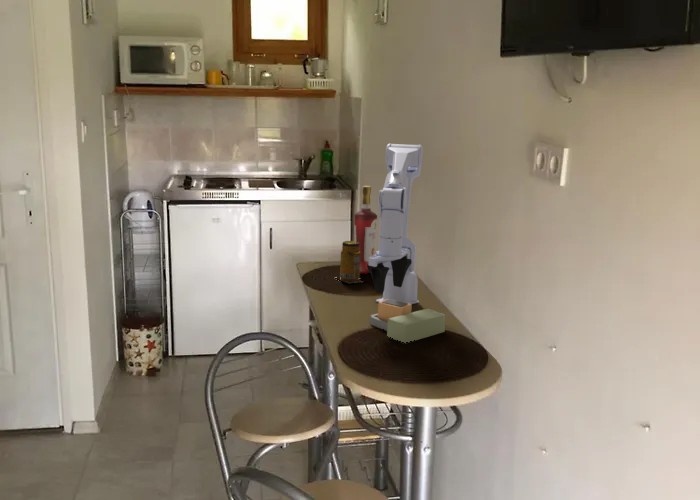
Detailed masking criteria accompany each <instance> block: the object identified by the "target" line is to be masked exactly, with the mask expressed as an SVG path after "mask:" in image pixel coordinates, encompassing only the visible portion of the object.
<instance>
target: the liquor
mask: <svg viewBox="0 0 700 500" xmlns="http://www.w3.org/2000/svg"><path fill="white" fill-rule="evenodd" d="M361 193H362V203H361V209H360V210H359V211H357V212H356V213H354V215H353V216H354V219H353V220H354V221H353V222H354V224H353V225H354V227H353V229H354V241H356V242H359V244H360V245H359V251H360V275H369V274H368V273H370V272H369V270H368V268H367V264H368V263H369V258H370V257H373V256H374V255H375V246H376V245H375V244H376V237H377V235H376V234H377V223H378V214H376V213H375V212H374V211H373V210H371V209H372V208H371V193H372V186H370V185H363V186H362V192H361Z"/></svg>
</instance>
